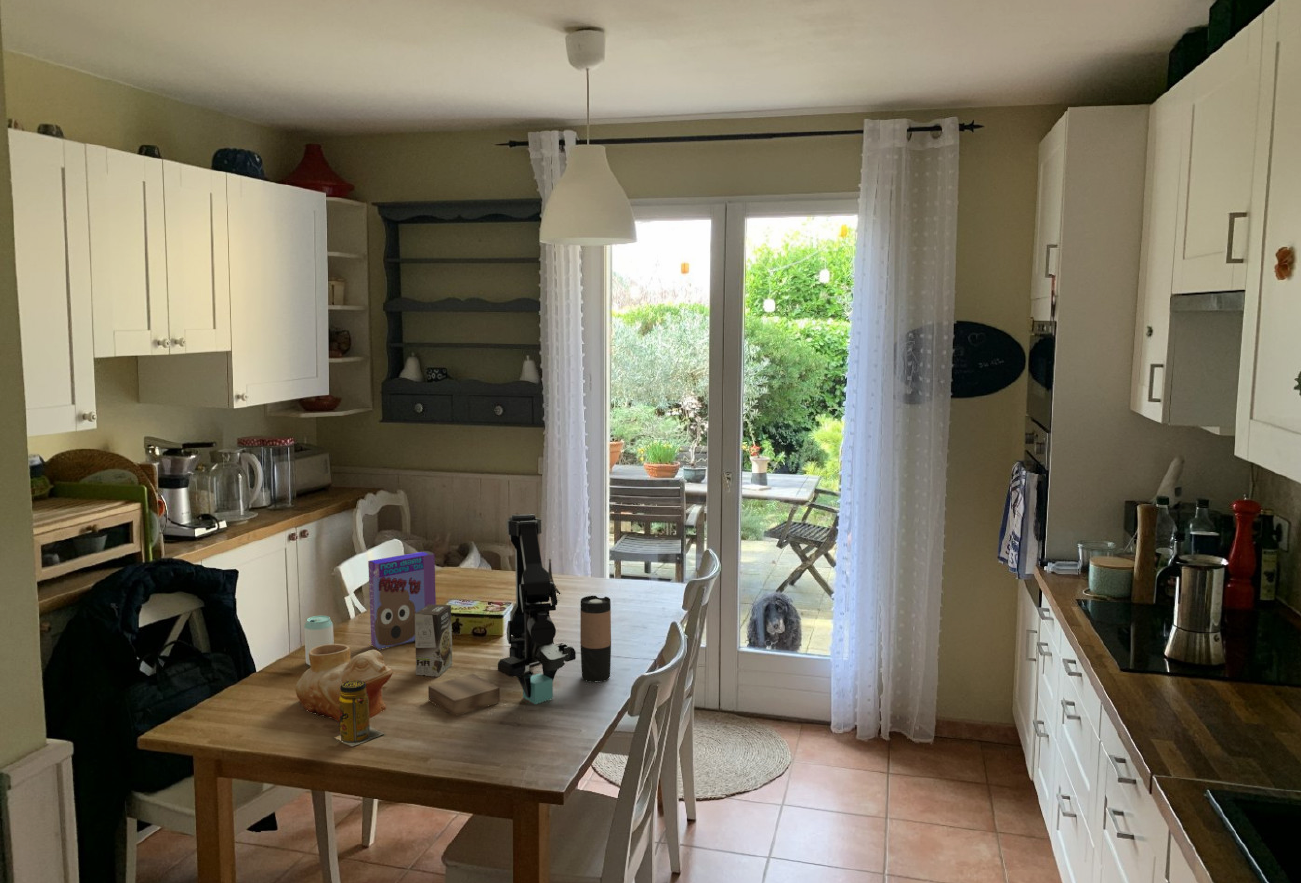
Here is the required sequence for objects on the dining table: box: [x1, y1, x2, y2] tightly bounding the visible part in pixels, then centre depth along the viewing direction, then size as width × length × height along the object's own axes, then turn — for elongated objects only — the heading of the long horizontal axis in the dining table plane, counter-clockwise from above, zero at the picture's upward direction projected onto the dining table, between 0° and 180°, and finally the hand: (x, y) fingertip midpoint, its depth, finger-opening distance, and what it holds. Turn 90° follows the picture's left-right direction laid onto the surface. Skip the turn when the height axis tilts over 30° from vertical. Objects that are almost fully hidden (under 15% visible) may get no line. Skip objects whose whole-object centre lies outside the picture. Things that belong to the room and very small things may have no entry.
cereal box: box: [367, 550, 437, 650], centre depth 272 cm, size 17×5×24 cm, turn 131°
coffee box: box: [414, 604, 453, 678], centre depth 250 cm, size 9×6×16 cm
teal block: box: [522, 673, 554, 705], centre depth 232 cm, size 5×5×5 cm
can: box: [303, 615, 335, 666], centre depth 255 cm, size 7×7×12 cm
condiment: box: [337, 680, 386, 747], centre depth 211 cm, size 7×8×12 cm
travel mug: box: [579, 595, 612, 683], centre depth 245 cm, size 8×8×20 cm
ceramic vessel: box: [294, 643, 394, 723], centre depth 225 cm, size 14×26×15 cm, turn 58°
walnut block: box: [427, 673, 501, 717], centre depth 231 cm, size 12×12×4 cm
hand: (537, 694), depth 232 cm, fingers closed on teal block, 5 cm apart
